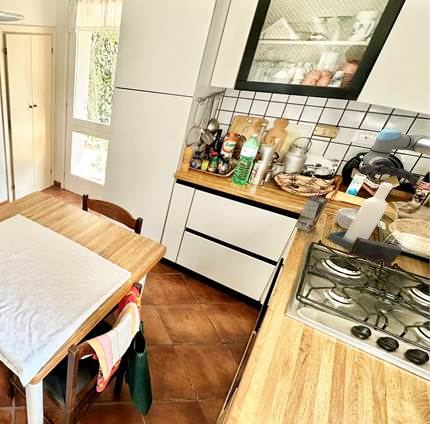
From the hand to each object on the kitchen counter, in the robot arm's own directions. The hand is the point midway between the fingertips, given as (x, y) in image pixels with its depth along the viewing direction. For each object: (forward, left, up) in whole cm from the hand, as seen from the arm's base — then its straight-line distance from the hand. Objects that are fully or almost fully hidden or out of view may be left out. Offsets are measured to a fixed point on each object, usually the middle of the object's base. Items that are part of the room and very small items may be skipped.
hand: (394, 179), depth 135 cm
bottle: (-3, +9, -30) cm, 32 cm away
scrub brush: (-14, +17, -31) cm, 38 cm away
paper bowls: (+8, -6, -31) cm, 33 cm away
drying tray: (-3, +10, -31) cm, 33 cm away
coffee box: (+15, +17, -31) cm, 38 cm away
